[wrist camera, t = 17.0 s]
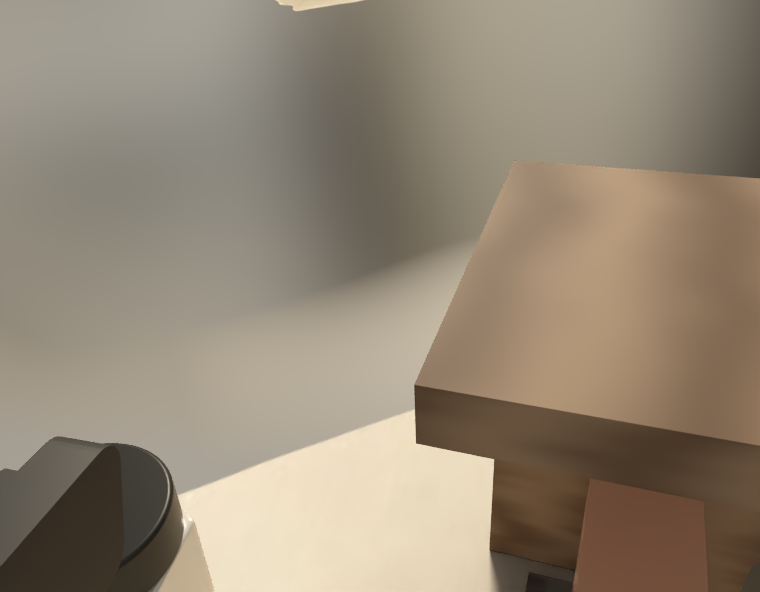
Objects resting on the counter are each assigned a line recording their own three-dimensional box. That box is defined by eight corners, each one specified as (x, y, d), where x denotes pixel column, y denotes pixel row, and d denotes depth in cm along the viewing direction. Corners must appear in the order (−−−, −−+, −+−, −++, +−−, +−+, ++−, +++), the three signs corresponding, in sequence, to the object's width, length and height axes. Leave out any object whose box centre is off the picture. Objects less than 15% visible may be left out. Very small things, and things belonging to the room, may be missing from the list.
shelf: (427, 811, 30) (414, 384, 17) (495, 523, 43) (518, 151, 30) (787, 942, 26) (1124, 510, 13) (746, 580, 39) (898, 178, 26)
